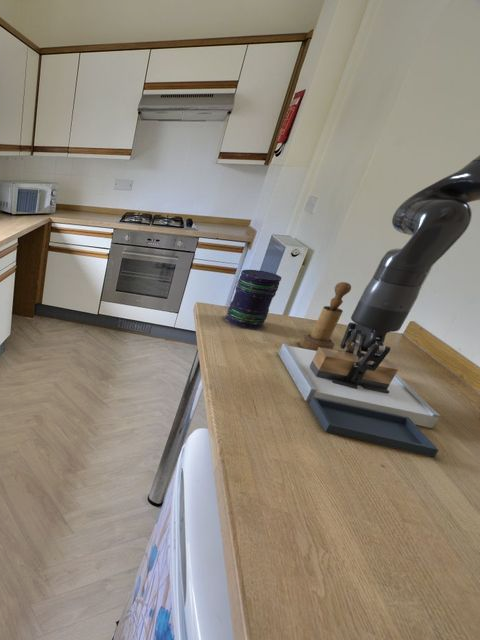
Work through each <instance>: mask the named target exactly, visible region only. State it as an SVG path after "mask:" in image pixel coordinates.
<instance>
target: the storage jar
mask: <svg viewBox="0 0 480 640" xmlns="http://www.w3.org/2000/svg"><path fill="white" fill-rule="evenodd" d="M240 272H241V273H240V276H239V278H238V279H237V282H236V286H235V292H234V295H233V298H232V301H230V304H229V306H228V309H227V313H226V316H225V319H224V320H225V321H226V322H227V323H229V324H231V325H232V326H235V327H239V328H242V329H249V330H261V329H262V328H263V327H264V323H265V322H266V320H267V319H268V318H267V317H268V314H269V312H270V306H271V304H272V300H273V299H274V298H275V296H276V293H277V291H278V290H279V286H280V282H281V281H282V276H280V275H279V274H276V273H272V272H269V271H264V270H259V269H258V270H257V269H242V270H241V271H240Z"/></svg>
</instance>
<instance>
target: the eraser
mask: <svg viewBox="0 0 480 640" xmlns="http://www.w3.org/2000/svg"><path fill="white" fill-rule="evenodd" d="M362 358H363V357H361V359H362ZM354 359H355V356H354V355H353V353H349V352H343V351H342V350H337V349H327V348H321V347H318V350H317V352H316V354H315V356H314V358H313V360H312V362H311V364H310V368H311V370H312V371H313V373H314V374H315V376H316V377H321V378H326V379H331V380H332V379H336V380H340V381H344V382H346V381H345V379H346V377H347V375H348V373H349V371H350V369H351V367H352V366H353V363H354ZM360 361H361V360H360ZM372 363H373V362H372ZM398 371H399V369H398V368H397V367H396V366H395V365H394V364H393V363H392V362H390V360H388V359H387V358H384V359H383V361H382V362H381V363H380V364H379V366H378V367H377V368H376V370H375V371H370V370H366V372H365V374H364V376H363V378H362V379H361V381H360V383H359V384H357V385H361V386H362V385H363V384H364V385H369V386H374V387H379V388H384V389H387V388H388V387H389V385H390V383H391V381H392V380H393V378H394V376H395V375H396V374H397V373H398Z"/></svg>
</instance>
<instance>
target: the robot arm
mask: <svg viewBox="0 0 480 640" xmlns="http://www.w3.org/2000/svg"><path fill="white" fill-rule="evenodd" d="M476 201H480V154H479V155H478V156H476V157H475V158H473V159H472V160H471V161H469V163H467V164H466V165H465V166H464V167H462V168H460V169H459V170H457V171H456V172H453V173H452V174H449V175H447V176H445V177H444V178H442V179H439V180H438V181H436V182H434V183H432V184H430V185H429V186H426V187H424V188H423V189H421V190H419V191H417V192H416V193H415V194H412V195H411V196H410V197H408V198H407V199H405V200H404V201H403V202H402V203H401V204H400V205H399V206H398V207H397V208H396V210H395V212H394V213H393V215H392V217H391V218H392V219H391V224H392V227H393V228H394V230H396V231H397V232H399V233H401V234H404V235H408V236H411V237H410V239H409V240H408V241H407V242H406V243H405V244H404V246H403V247H400V248H393V249H392V248H391V249H389V250H388V251H386V252H385V253H384V255H383V256H382V257H381V260H380V261H379V263H378V266H377V267H376V270H375V271H374V272H373V273H374V274H373V276H372V277H371V279H370V280H369V282H368V283H367V285H366V286H365V288H364V290H363V292H362V294H361V296H360V298H359V300H358V302H357V304H356V306H355V308H354V310H353V312H352V314H351V316H350V320H351V321H352V322H348V324H347V328H346V330H345V332H344V335H343V338H342V340H341V343H340V346H339V348H340V349H342V350H341V351H343V352H349V353H353V355H354V356H355V359H354V363H353V366H352V367H351V369H350V371H349V373H348V375H347V377H346V379H345V381H346V382H348V383H351V384H355V385H357V384H359V383H360V381H361V379H362V378H363V376H364V374H365V372H366V370H370V371H375V370H376V368H377V367H378V366H379V364H380V363H381V362H382V361H383V359H386V357H387V355H388V354H389V353H390V351H391V346H388V345H384V343H385V340H386V337H387V334H388V333H391V332H393V333H395V332H399V331H400V330H401V328H402V326H403V325H404V322H405V321H406V319H407V318H408V316H409V314H410V312H411V310H412V308H413V307H414V305H415V303H416V301H417V300H418V297H419V294H420V291H421V289H422V287H423V285H424V283H425V281H426V280H427V279H428V276H429V274H430V273H431V270H432V269H433V267H434V265H435V264H436V263H437V262H438V261H439V260H441V258H443V256H444V255H446V253H447V252H449V250H450V249H451V248H452V247H453V246H454V245H455V244H456V243H457V242H458V241H459V240H460V239H461V238H462V236H463V235H464V234H465V233H466V231H467V230H468V228H469V227H470V224H471V221H472V218H473V210H472V207H471V206H470V204H469V203H472V202H476ZM363 352H365V353H363ZM361 357H363V358H362V359H361ZM360 360H361V361H360ZM372 362H373V363H372Z"/></svg>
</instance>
